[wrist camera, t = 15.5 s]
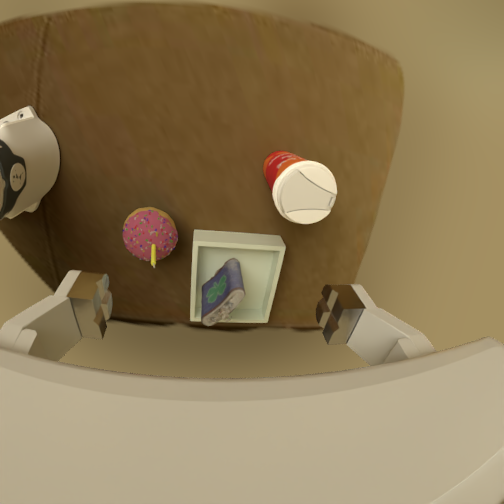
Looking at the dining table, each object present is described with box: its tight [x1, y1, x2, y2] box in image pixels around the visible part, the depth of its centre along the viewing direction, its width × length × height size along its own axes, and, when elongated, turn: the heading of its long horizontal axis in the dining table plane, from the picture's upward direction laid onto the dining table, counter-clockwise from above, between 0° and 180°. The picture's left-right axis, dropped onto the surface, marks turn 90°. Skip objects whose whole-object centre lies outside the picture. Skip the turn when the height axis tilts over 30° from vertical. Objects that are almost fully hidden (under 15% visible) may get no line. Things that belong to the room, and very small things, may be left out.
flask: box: [201, 258, 245, 326], centre depth 45 cm, size 9×3×11 cm, turn 135°
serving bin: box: [190, 230, 286, 323], centre depth 49 cm, size 15×17×4 cm
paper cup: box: [263, 151, 337, 224], centre depth 36 cm, size 8×8×14 cm
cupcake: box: [123, 207, 178, 268], centre depth 39 cm, size 9×8×12 cm
